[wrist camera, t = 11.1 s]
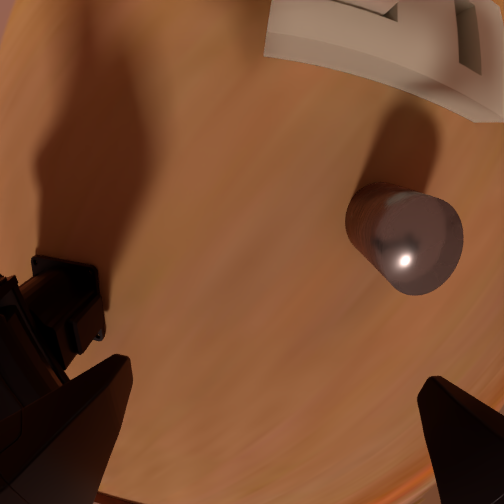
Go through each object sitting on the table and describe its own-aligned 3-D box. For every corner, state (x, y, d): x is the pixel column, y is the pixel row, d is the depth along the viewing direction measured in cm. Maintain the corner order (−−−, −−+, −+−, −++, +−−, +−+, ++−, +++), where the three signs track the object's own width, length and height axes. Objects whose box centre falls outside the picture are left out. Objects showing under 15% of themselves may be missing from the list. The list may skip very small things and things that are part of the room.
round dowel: (338, 250, 19) (370, 291, 13) (353, 175, 17) (396, 187, 12) (401, 259, 19) (446, 298, 13) (417, 190, 17) (472, 208, 12)
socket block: (263, 56, 15) (266, 31, 11) (281, -52, 12) (286, -83, 8) (474, 122, 15) (509, 122, 12) (471, 18, 12) (499, 6, 8)
